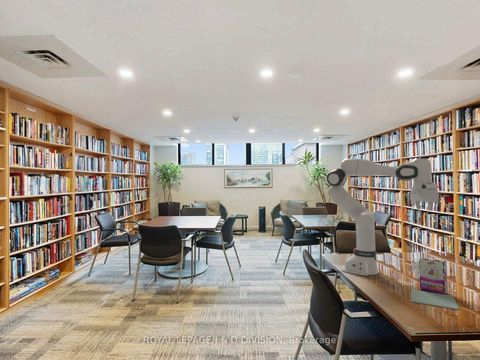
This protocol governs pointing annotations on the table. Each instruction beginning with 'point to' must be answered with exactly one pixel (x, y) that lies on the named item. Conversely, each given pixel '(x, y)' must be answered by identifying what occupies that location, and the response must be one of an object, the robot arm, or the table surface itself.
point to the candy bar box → (433, 275)
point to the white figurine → (416, 268)
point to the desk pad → (434, 299)
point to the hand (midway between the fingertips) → (423, 209)
